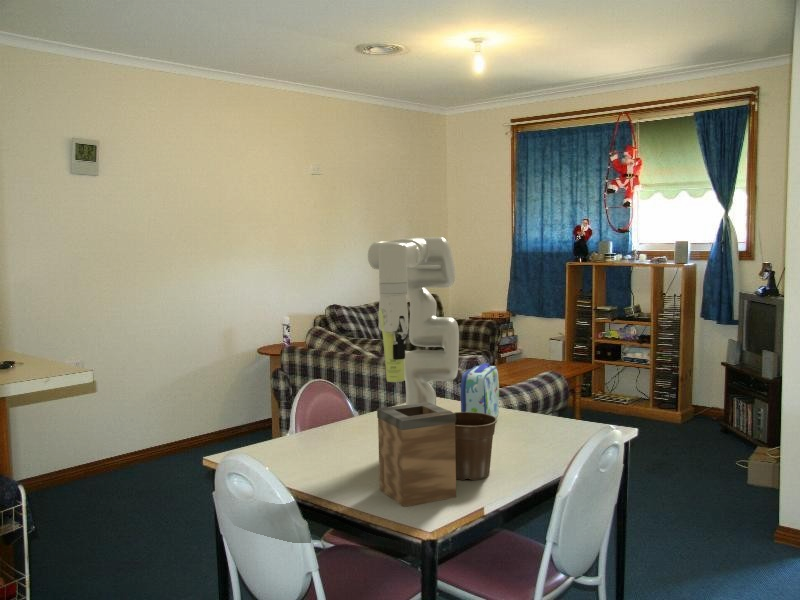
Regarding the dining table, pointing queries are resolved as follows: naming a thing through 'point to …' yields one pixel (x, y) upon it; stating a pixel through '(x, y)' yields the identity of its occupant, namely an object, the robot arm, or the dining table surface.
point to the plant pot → (473, 444)
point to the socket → (417, 453)
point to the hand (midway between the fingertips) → (394, 357)
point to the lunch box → (480, 390)
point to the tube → (393, 367)
